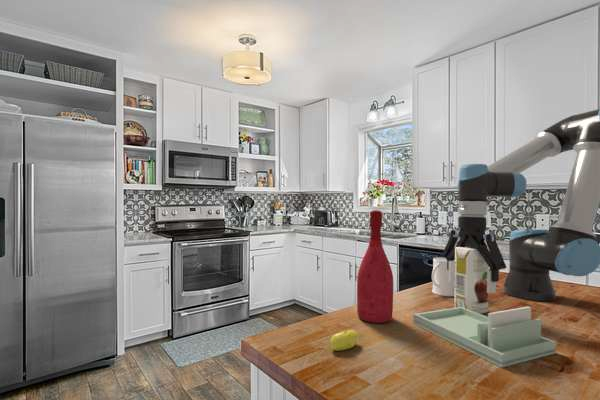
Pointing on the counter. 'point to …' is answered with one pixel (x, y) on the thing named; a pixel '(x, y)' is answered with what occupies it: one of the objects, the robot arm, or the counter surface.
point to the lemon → (344, 340)
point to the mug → (441, 278)
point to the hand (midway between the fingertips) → (470, 286)
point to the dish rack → (490, 333)
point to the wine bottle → (375, 278)
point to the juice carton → (470, 280)
